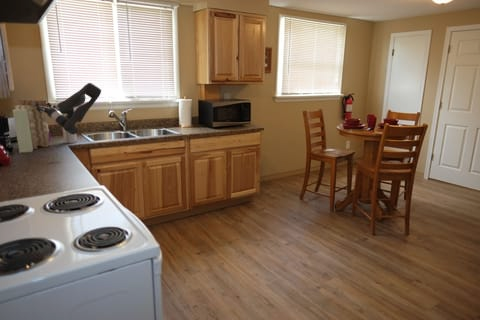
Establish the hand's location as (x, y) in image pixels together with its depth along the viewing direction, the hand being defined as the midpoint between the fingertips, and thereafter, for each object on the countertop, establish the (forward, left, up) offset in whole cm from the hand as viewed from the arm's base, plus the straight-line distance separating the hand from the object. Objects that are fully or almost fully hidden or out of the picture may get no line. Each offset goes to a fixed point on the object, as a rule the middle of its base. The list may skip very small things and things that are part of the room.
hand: (42, 103), depth 239 cm
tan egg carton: (-4, -15, -34) cm, 37 cm away
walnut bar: (-3, -10, -2) cm, 10 cm away
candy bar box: (-23, -25, -34) cm, 48 cm away
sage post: (+12, -8, -34) cm, 37 cm away
